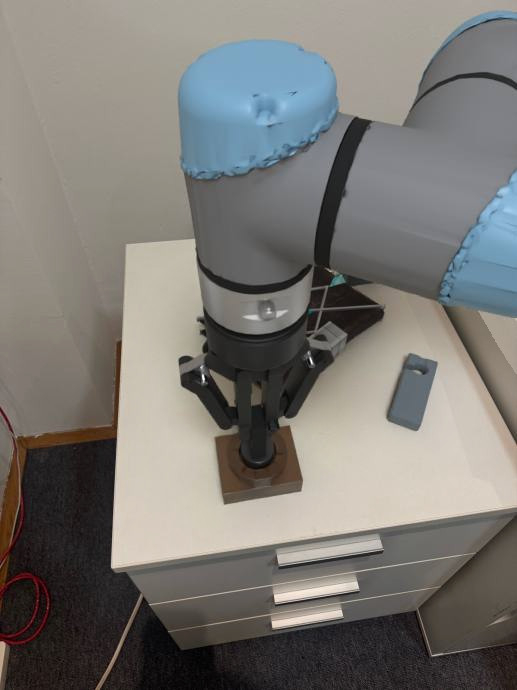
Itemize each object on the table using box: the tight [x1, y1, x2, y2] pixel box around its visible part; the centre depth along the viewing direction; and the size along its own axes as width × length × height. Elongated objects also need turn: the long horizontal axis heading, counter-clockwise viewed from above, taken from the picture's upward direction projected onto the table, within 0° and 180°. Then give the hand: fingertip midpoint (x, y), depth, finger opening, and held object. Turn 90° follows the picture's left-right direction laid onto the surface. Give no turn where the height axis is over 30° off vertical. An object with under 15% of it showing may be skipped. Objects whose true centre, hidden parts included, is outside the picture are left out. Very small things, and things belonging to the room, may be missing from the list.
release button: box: [241, 436, 274, 469], centre depth 54 cm, size 4×4×2 cm
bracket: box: [387, 352, 439, 432], centre depth 63 cm, size 4×10×2 cm, turn 156°
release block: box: [214, 424, 304, 505], centre depth 56 cm, size 9×7×5 cm
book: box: [195, 265, 386, 392], centre depth 69 cm, size 22×17×5 cm
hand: (256, 445), depth 53 cm, fingers closed
